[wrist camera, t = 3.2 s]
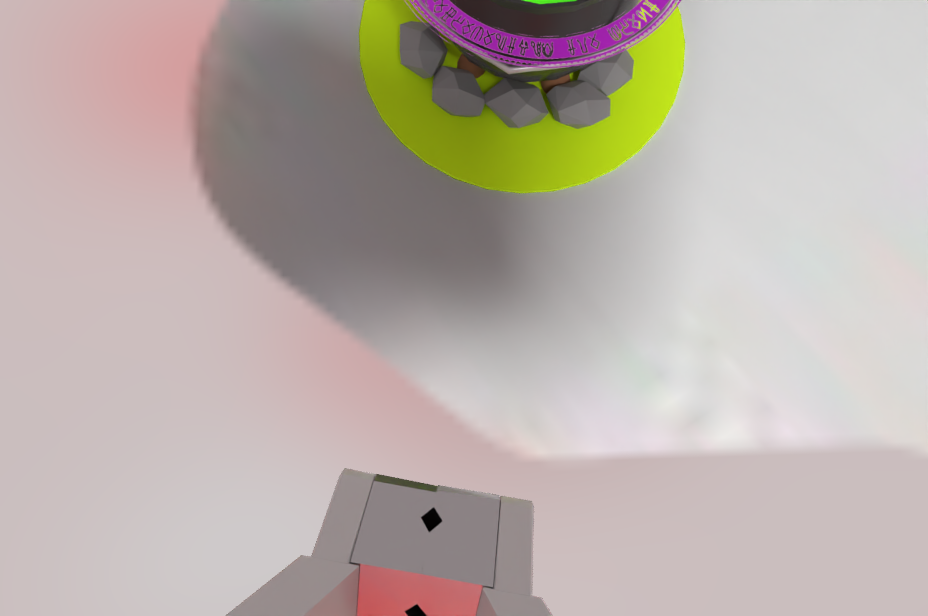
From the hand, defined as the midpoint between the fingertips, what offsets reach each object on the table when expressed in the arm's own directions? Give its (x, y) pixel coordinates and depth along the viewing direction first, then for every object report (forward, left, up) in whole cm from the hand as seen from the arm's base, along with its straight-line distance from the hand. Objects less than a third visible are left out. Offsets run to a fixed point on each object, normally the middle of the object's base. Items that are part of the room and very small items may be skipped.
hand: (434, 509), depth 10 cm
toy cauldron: (0, -19, -17) cm, 26 cm away
